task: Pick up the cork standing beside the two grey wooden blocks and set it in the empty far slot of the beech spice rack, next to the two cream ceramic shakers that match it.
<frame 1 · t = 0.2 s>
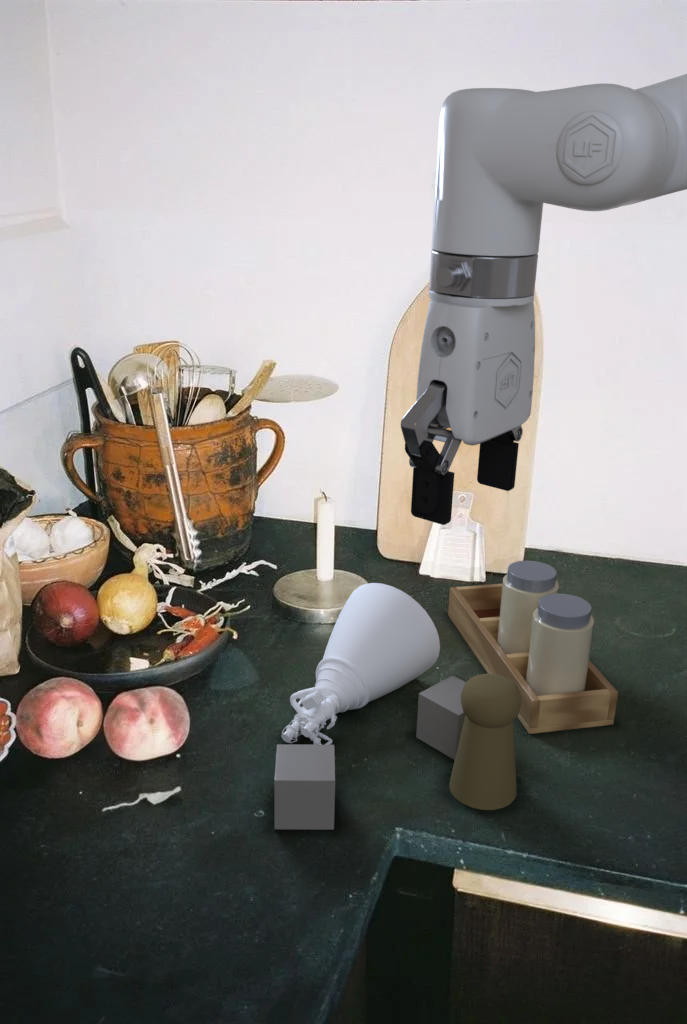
hand: (464, 502, 73), 28 cm above the worktop, tool pointing down, fingers open, 9 cm apart
cream shaker 2: (553, 699, 97), point 1 cm above the worktop, touching spice rack
grey block 2: (304, 810, 81), on the worktop
spice rack: (522, 664, 105), on the worktop
cream shaker 1: (522, 659, 105), point 1 cm above the worktop, touching spice rack
grey block 1: (452, 738, 91), on the worktop
cork: (482, 789, 84), on the worktop
rocket engine: (339, 703, 97), on the worktop
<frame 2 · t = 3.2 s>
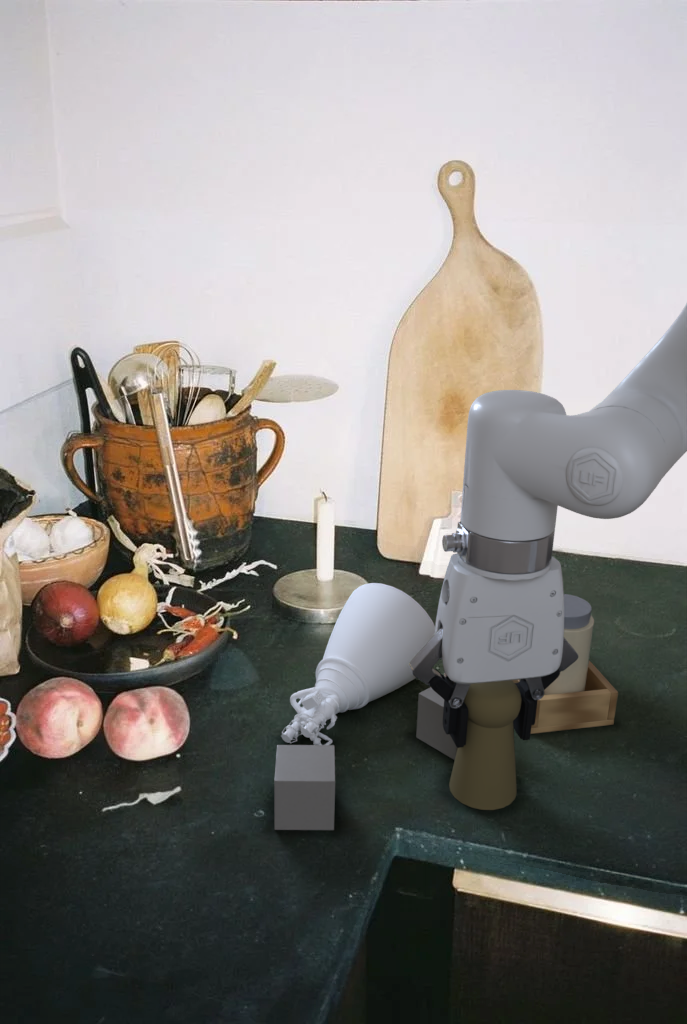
hand: (487, 733, 82), 6 cm above the worktop, tool pointing down, fingers closed on cork, 5 cm apart
cork: (482, 789, 84), on the worktop, touching gripper
everything else where it was.
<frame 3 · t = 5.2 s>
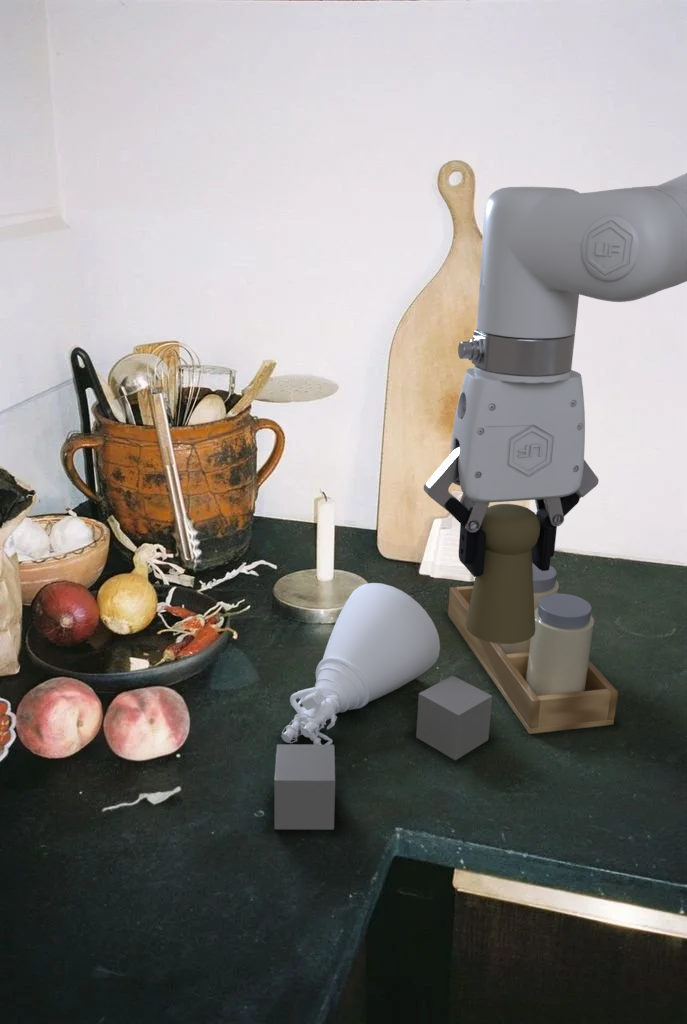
hand: (505, 565, 79), 21 cm above the worktop, tool pointing down, fingers closed on cork, 5 cm apart
cork: (499, 629, 81), point 15 cm above the worktop, touching gripper
everything else where it was.
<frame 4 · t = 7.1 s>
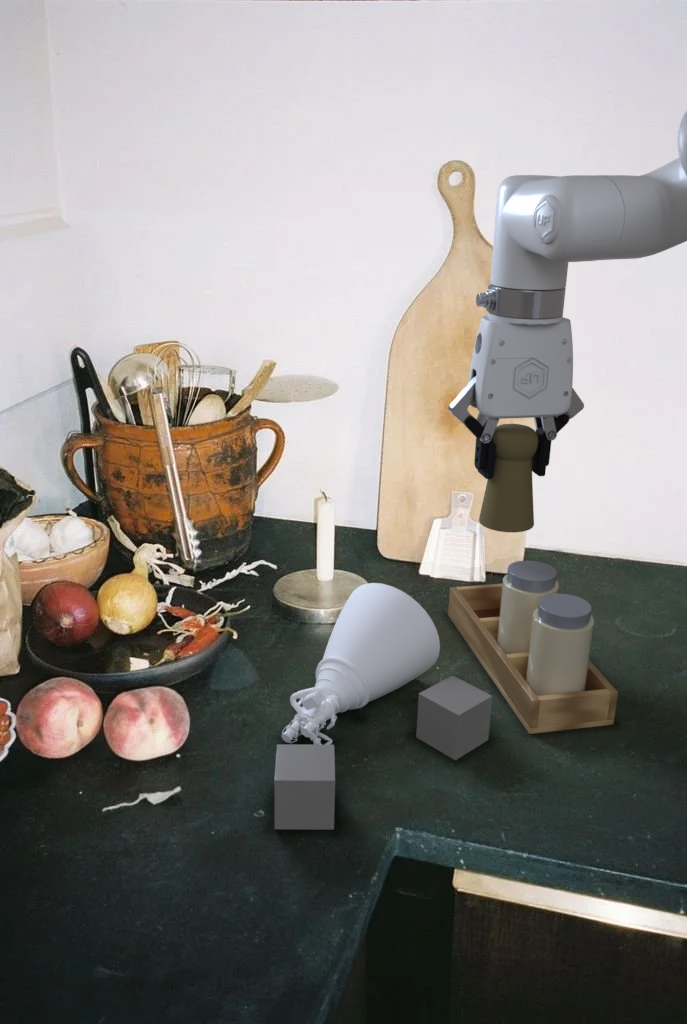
hand: (510, 472, 101), 21 cm above the worktop, tool pointing down, fingers closed on cork, 5 cm apart
cork: (506, 523, 104), point 15 cm above the worktop, touching gripper
everything else where it was.
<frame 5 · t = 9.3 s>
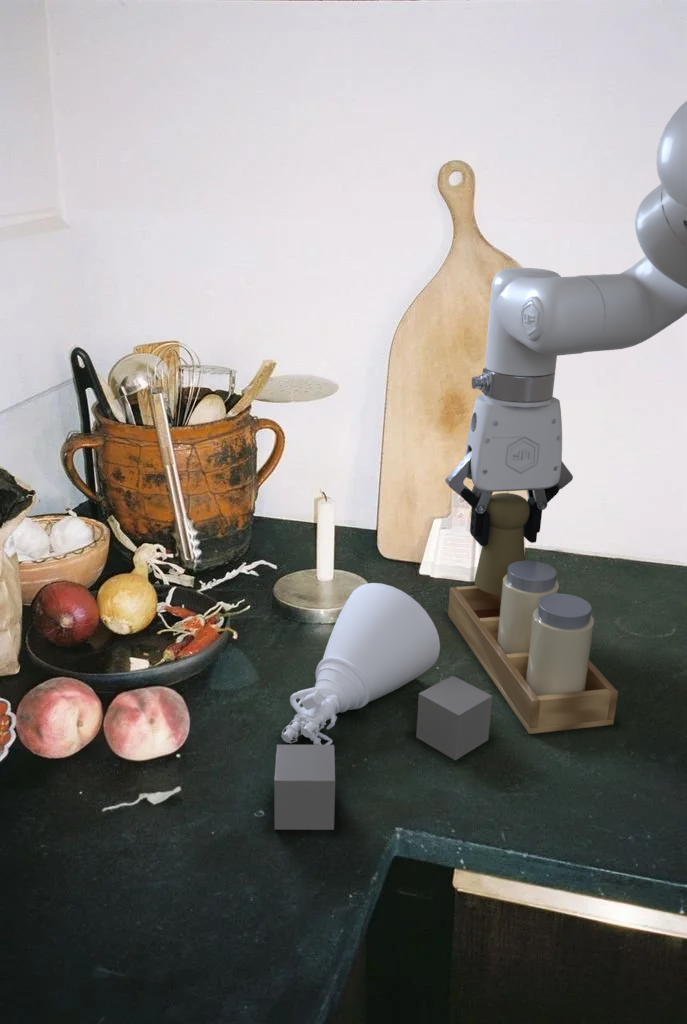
hand: (504, 538, 108), 12 cm above the worktop, tool pointing down, fingers closed on cork, 5 cm apart
cork: (499, 585, 110), point 6 cm above the worktop, touching gripper
everything else where it was.
when the fingers open (7 cm above the worktop, at t = 11.0 s): cork stays where it is, resting on spice rack.
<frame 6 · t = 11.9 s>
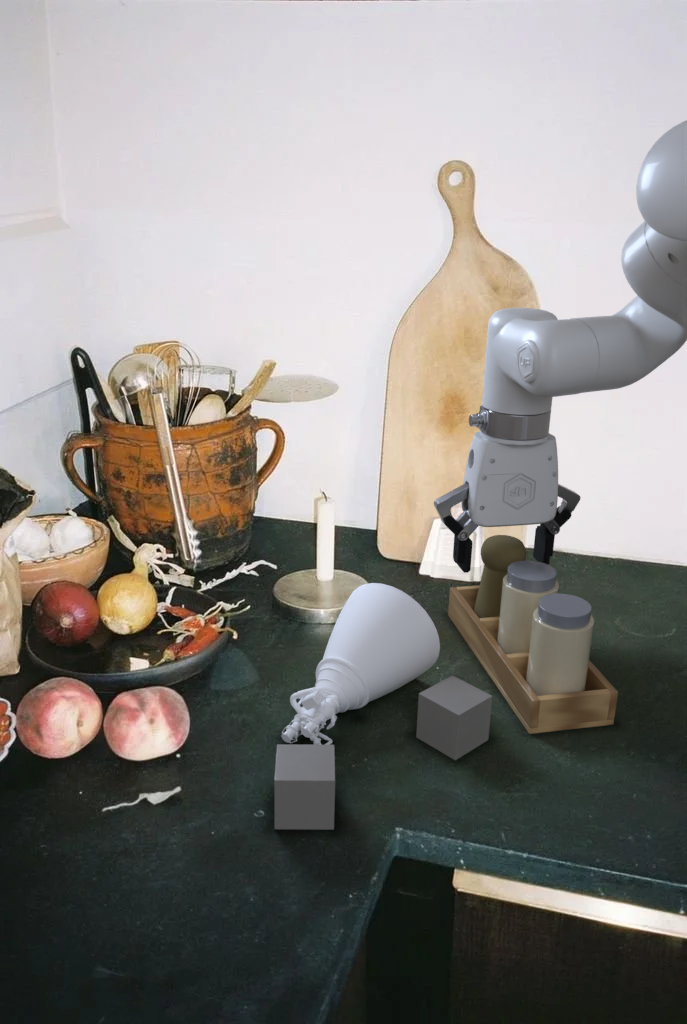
hand: (502, 564, 109), 9 cm above the worktop, tool pointing down, fingers open, 9 cm apart
cork: (496, 625, 112), point 1 cm above the worktop, touching spice rack
everything else where it was.
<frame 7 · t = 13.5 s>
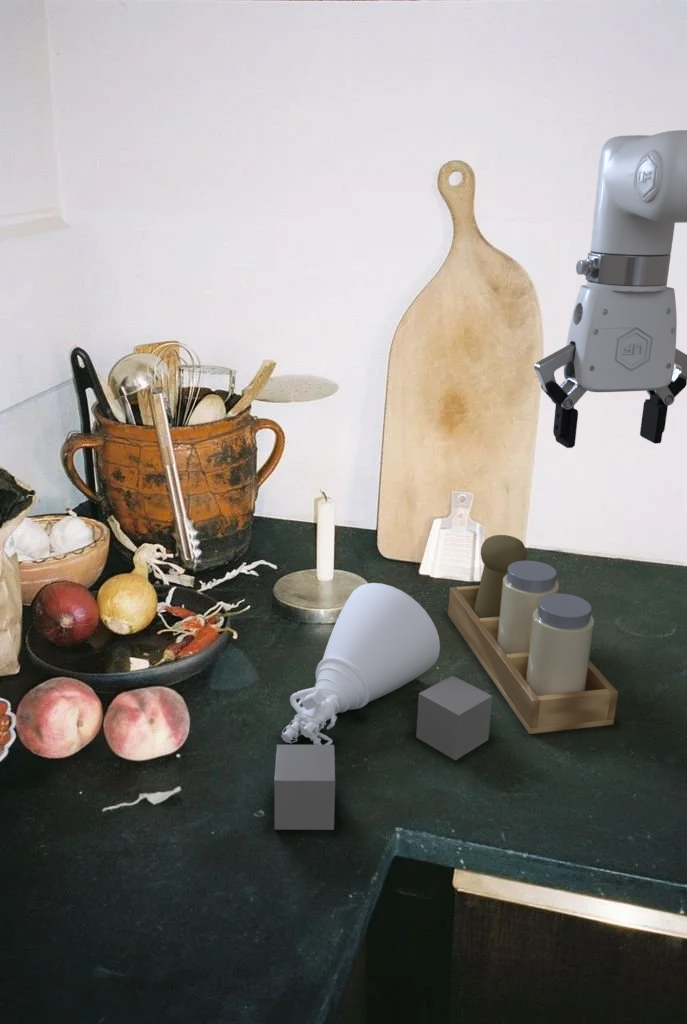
hand: (607, 442, 97), 26 cm above the worktop, tool pointing down, fingers open, 9 cm apart
nothing on the worktop moved.
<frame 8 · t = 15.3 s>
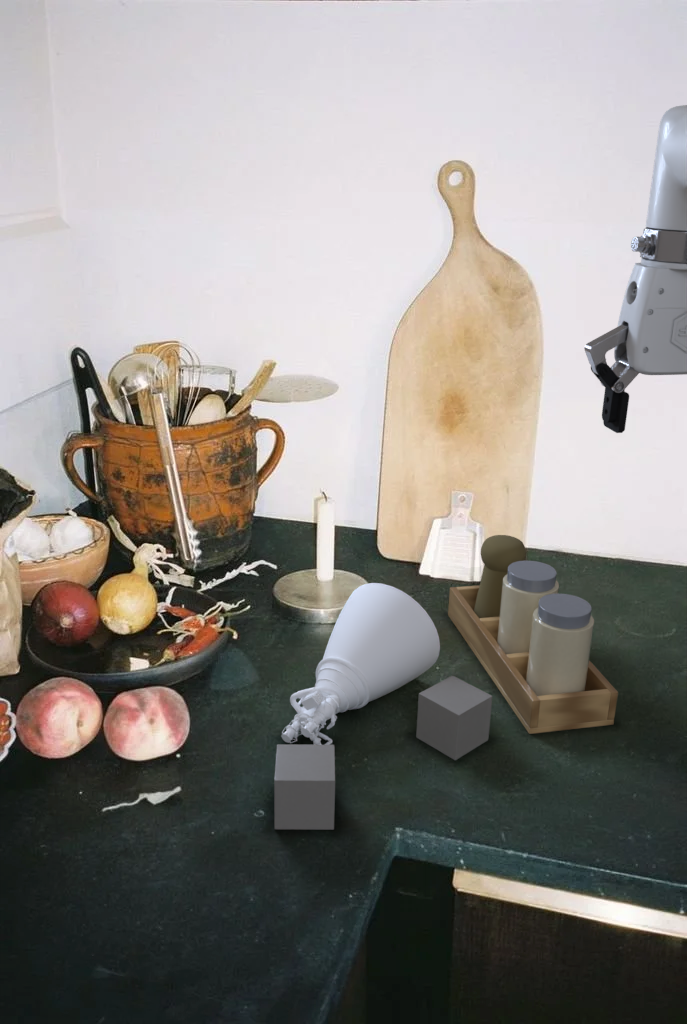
hand: (658, 427, 93), 28 cm above the worktop, tool pointing down, fingers open, 9 cm apart
nothing on the worktop moved.
at the end: cork 0.1 cm from the target spot in the spice rack, point 0.6 cm above the spice rack's base; cork tilted 0°; the gripper is holding nothing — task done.
